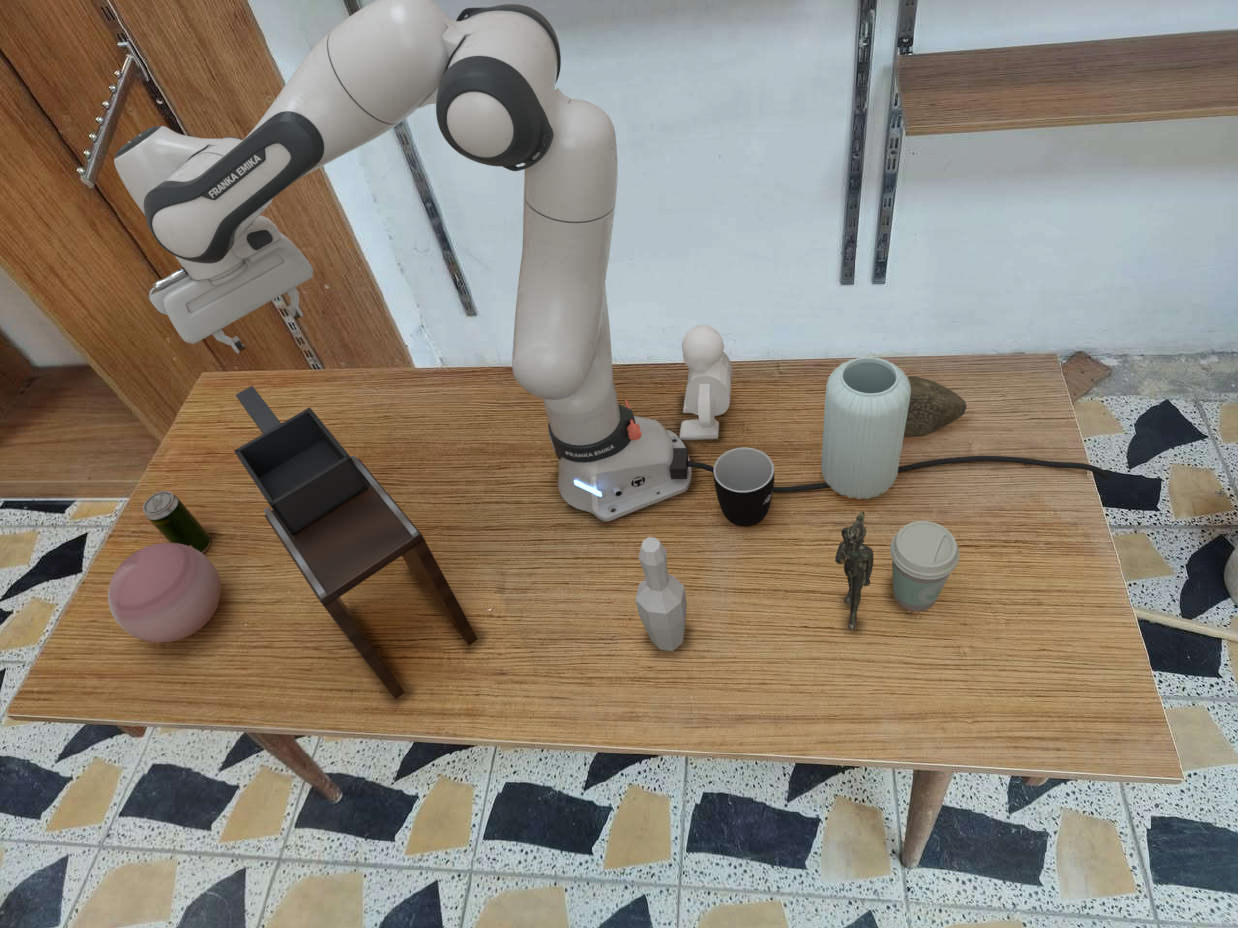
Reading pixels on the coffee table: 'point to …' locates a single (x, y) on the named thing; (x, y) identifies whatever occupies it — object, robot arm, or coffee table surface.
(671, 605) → the faceted bottle
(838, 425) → the vase
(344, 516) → the stand
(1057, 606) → the coffee table surface
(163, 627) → the pink rounded ball
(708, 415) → the toy robot
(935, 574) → the coffee cup
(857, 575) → the statue
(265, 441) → the basket
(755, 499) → the mug
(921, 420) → the stone
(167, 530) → the beer can
